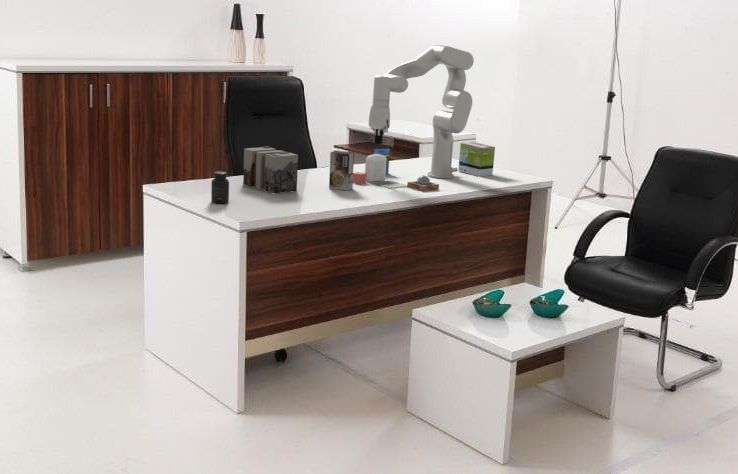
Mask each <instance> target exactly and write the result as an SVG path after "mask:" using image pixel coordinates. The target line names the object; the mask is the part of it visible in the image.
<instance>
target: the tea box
mask: <svg viewBox="0 0 738 474" xmlns="http://www.w3.org/2000/svg"><path fill="white" fill-rule="evenodd" d="M495 151H496V147H495V146H493V145H489V144H484V143H480V142H476V141H471V142H461V143H460V147H459V157H458V158H459V159H458V168H457V169H458V171H457V172H458V173H459V172H461V173H465V174H469V175H472V176H474V177H475V176H476V177H478V176H479V177H478V178H480V177H481V176H482V177H487V176H493V174H494V173H493V172H494V165H495V163H494V161H495V153H496V152H495ZM482 177H481V178H482Z"/></svg>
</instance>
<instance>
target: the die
mask: <svg viewBox="0 0 738 474" xmlns="http://www.w3.org/2000/svg"><path fill="white" fill-rule="evenodd" d="M366 178H367V173H365V172H359V171H357V172H353V184H357V185H363V184H367V181H366Z"/></svg>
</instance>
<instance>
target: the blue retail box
mask: <svg viewBox="0 0 738 474" xmlns="http://www.w3.org/2000/svg"><path fill="white" fill-rule="evenodd" d="M390 149H391V148H374V149H373V151H374V152H373V154H380V155H384V156H386V160H387V161H386V175H387V174H389V169H390V167H389V166H390Z"/></svg>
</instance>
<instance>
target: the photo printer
mask: <svg viewBox="0 0 738 474" xmlns="http://www.w3.org/2000/svg"><path fill="white" fill-rule="evenodd" d="M386 161H387V160H386V156H384V155H380V154H374V153H373V154H369V155H368V156H366V157H365V163H364V164H365V166H364V173H367V178H366V183H367V182H368V183H370V182H379V181H386V175H387V174H386Z"/></svg>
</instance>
